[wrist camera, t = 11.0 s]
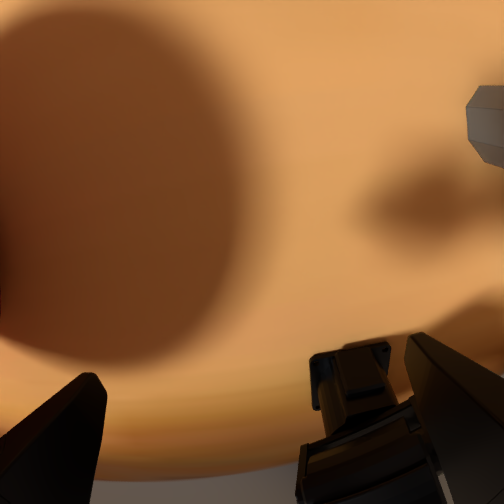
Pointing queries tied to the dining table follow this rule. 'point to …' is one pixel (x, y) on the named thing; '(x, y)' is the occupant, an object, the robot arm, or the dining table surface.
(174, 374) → the dining table surface
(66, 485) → the robot arm
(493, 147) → the grey cup
